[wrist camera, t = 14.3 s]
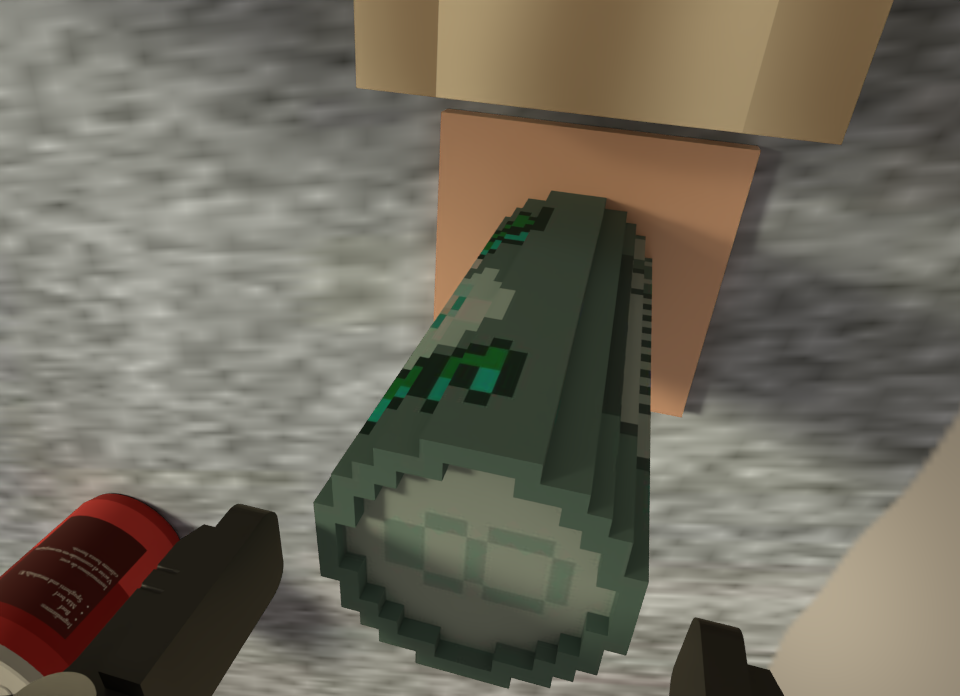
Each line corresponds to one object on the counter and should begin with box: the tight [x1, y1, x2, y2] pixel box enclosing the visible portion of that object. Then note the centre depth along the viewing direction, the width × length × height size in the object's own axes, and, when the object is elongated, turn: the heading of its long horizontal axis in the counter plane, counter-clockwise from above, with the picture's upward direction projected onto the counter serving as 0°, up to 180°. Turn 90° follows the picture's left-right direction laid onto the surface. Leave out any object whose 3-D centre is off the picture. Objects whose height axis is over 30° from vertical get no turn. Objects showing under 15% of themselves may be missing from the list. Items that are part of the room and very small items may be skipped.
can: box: [313, 190, 652, 689], centre depth 18 cm, size 6×6×15 cm
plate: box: [434, 109, 761, 417], centre depth 24 cm, size 11×11×1 cm
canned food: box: [0, 494, 180, 696], centre depth 37 cm, size 8×8×11 cm
